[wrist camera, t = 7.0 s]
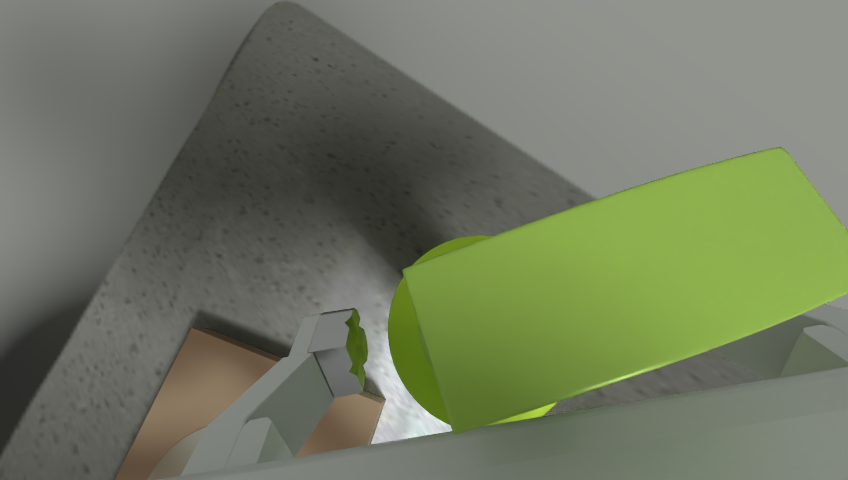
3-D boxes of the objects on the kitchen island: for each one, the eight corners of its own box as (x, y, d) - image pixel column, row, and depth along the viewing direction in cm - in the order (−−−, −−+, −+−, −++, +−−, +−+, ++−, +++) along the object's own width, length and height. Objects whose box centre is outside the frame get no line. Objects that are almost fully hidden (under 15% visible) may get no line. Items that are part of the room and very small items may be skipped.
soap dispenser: (535, 356, 22) (1126, 485, 3) (436, 391, 22) (354, 776, 3) (501, 273, 24) (728, 3, 5) (410, 305, 24) (241, 163, 4)
